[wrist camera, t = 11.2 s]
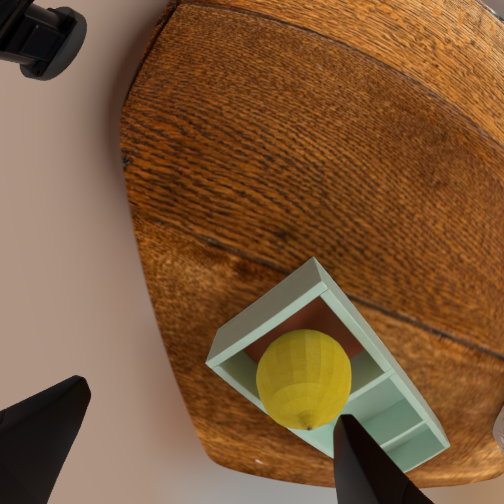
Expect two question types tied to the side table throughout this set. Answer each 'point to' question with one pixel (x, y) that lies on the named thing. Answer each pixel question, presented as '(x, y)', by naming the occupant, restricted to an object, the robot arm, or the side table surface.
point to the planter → (499, 430)
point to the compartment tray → (360, 356)
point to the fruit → (304, 379)
